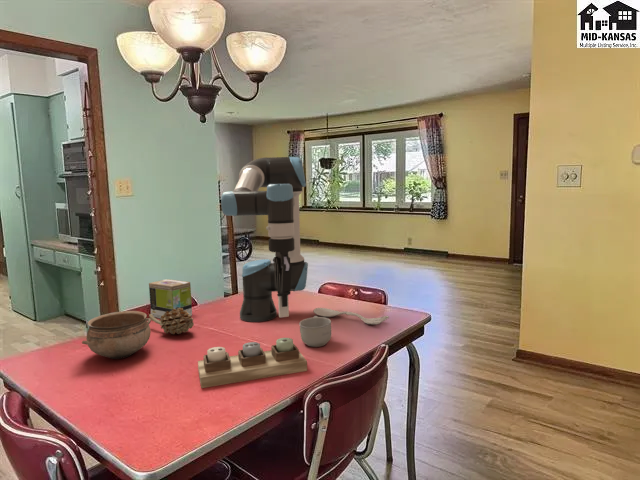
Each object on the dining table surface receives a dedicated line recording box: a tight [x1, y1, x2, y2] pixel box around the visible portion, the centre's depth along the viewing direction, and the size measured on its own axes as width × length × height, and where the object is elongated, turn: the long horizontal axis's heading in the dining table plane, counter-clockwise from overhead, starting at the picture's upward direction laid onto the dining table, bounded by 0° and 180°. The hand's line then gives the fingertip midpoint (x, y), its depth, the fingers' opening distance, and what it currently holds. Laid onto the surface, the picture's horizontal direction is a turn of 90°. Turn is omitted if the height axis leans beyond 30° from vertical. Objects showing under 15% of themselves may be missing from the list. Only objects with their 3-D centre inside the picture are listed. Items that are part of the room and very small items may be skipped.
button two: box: [206, 346, 227, 363], centre depth 125 cm, size 5×5×3 cm
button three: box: [242, 341, 261, 358], centre depth 128 cm, size 5×5×3 cm
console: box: [197, 342, 308, 389], centre depth 128 cm, size 12×30×6 cm, turn 109°
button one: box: [275, 337, 294, 353], centre depth 131 cm, size 5×5×3 cm
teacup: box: [298, 315, 332, 348], centre depth 150 cm, size 14×11×8 cm
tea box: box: [148, 278, 193, 319], centre depth 184 cm, size 15×10×15 cm, turn 58°
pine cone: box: [148, 308, 195, 335], centre depth 163 cm, size 22×10×10 cm, turn 67°
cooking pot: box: [81, 310, 152, 360], centre depth 142 cm, size 25×19×12 cm
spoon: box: [313, 307, 390, 325], centre depth 175 cm, size 9×32×4 cm, turn 55°
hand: (283, 316), depth 130 cm, fingers closed
